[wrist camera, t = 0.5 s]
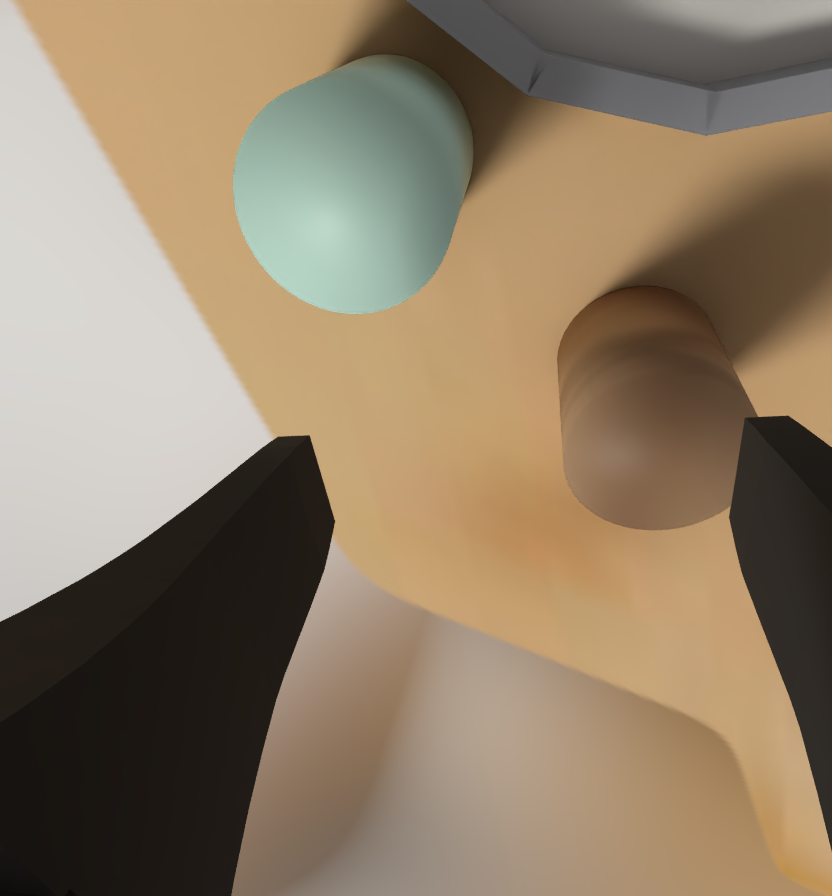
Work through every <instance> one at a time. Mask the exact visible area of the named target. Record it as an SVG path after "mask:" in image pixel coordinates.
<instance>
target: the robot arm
mask: <svg viewBox="0 0 832 896" xmlns="http://www.w3.org/2000/svg"><path fill="white" fill-rule="evenodd" d="M729 519H730V523H731V528H732V533H733V537H734V542H735V547H736V551H737V555H738V559H739V563H740V567H741V571H742V574H743V577H744V580H745V583H746V585H747V588H748V591H749V593H750V596H751V599H752V601H753V604H754V606H755V609H756V612H757V614H758V617H759V620H760V622H761V625H762V627H763V630H764V632H765V635H766V638H767V640H768V643H769V645H770V648H771V650H772V653H773V656H774V658H775V661H776V663H777V666H778V669H779V671H780V674H781V676H782V679H783V681H784V684H785V687H786V689H787V692H788V694H789V697H790V700H791V703H792V706H793V709H794V712H795V715H796V718H797V721H798V724H799V727H800V730H801V733H802V737H803V741H804V745H805V748H806V752H807V756H808V760H809V763H810V767H811V771H812V775H813V778H814V782H815V786H816V790H817V793H818V797H819V801H820V805H821V809H822V813H823V818H824V822H825V826H826V830H827V834H828V838H829V842H830V846H831V850H832V447H830V446H829V445H828V444H826V443H825V442H824V441H822V440H821V439H820V438H818V437H817V436H816V435H814V434H813V433H812V432H810V431H809V430H808V429H806V428H805V427H804V426H802V425H801V424H799V423H798V422H796V421H795V420H794V419H792V418H791V417H789V416H772V417H748V418H745V420H744V426H743V433H742V439H741V445H740V452H739V458H738V464H737V471H736V477H735V483H734V490H733V496H732V502H731V509H730V515H729ZM334 524H335V520H334V516H333V513H332V510H331V506H330V503H329V499H328V496H327V493H326V489H325V486H324V483H323V479H322V476H321V472H320V469H319V466H318V462H317V459H316V456H315V452H314V449H313V445H312V442H311V439H310V435H309V436H285V437H277V438H276V439H274V440H273V441H271V442H270V443H268V444H267V445H266V446H264V447H263V448H262V449H260V450H259V451H258V452H256V453H255V454H254V455H253V456H251V457H250V458H249V459H248V460H246V461H245V462H244V463H243V464H241V465H240V466H239V467H238V468H237V469H235V470H234V471H233V472H231V474H229V475H228V476H227V477H225V478H224V479H223V480H222V481H220V482H219V483H218V484H217V485H215V486H214V487H213V488H212V489H210V490H209V491H208V492H207V493H206V494H204V495H203V496H202V497H200V498H199V499H198V500H197V501H195V502H194V503H193V504H191V505H190V506H189V507H187V508H186V509H185V510H184V511H182V512H181V513H179V514H178V515H176V516H175V517H174V518H173V519H171V520H170V521H168V522H167V523H166V524H164V525H163V526H162V527H160V528H159V529H158V530H156V531H155V532H153V533H152V534H151V535H149V536H148V537H147V538H145V539H144V540H142V541H141V542H139V543H138V544H136V545H135V546H133V547H132V548H130V549H129V550H127V551H126V552H124V553H123V554H121V555H120V556H118V557H117V558H115V559H113V560H112V561H110V562H109V563H107V564H106V565H104V566H102V567H101V568H99V569H98V570H96V571H94V572H93V573H91V574H89V575H87V576H86V577H84V578H82V579H81V580H79V581H78V582H75V583H74V584H71V585H70V586H68V587H66V588H64V589H62V590H60V591H59V592H57V593H55V594H53V595H51V596H49V597H47V598H46V599H44V600H42V601H40V602H38V603H36V604H35V605H33V606H31V607H29V608H27V609H25V610H23V611H21V612H20V613H17V614H15V615H13V616H11V617H9V618H7V619H5V620H3V621H1V622H0V896H231V893H232V888H233V882H234V877H235V872H236V867H237V863H238V858H239V853H240V848H241V843H242V838H243V834H244V828H245V824H246V819H247V815H248V810H249V805H250V801H251V797H252V793H253V789H254V785H255V780H256V776H257V772H258V768H259V763H260V759H261V755H262V751H263V747H264V743H265V739H266V736H267V732H268V728H269V725H270V721H271V717H272V713H273V710H274V706H275V702H276V699H277V696H278V693H279V690H280V687H281V684H282V681H283V678H284V675H285V672H286V670H287V667H288V665H289V662H290V659H291V657H292V654H293V651H294V649H295V646H296V644H297V641H298V638H299V636H300V633H301V631H302V628H303V625H304V623H305V620H306V617H307V615H308V612H309V610H310V607H311V604H312V602H313V599H314V596H315V593H316V591H317V588H318V586H319V583H320V580H321V577H322V574H323V572H324V569H325V565H326V560H327V556H328V552H329V548H330V543H331V538H332V534H333V529H334Z"/></svg>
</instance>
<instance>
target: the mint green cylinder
mask: <svg viewBox="0 0 832 896" xmlns="http://www.w3.org/2000/svg"><path fill="white" fill-rule="evenodd" d="M473 160H474V145H473V135H472V131H471V126H470V122H469V119H468V117H467V114H466V111H465V109H464V107H463V105H462V103H461V101H460V99H459V98H458V96H457V95H456V93H455V92H454V90H453V89H452V88H451V87H450V85H449V84H448V83H447V82H446V81H445V80H444V79H443V78H442V77H441V76H440V75H438V74H437V73H436V72H435V71H434V70H432V69H430V68H429V67H427V66H426V65H424V64H422V63H420V62H418V61H416V60H414V59H410V58H407V57H404V56H399V55H392V54H377V55H371V56H366V57H363V58H360V59H357V60H354V61H352V62H350V63H348V64H345V65H343V66H341V67H339V68H337V69H334V70H332V71H330V72H328V73H326V74H323V75H321V76H319V77H317V78H315V79H312V80H310V81H308V82H306V83H304V84H302V85H299V86H297V87H295V88H293V89H291V90H289V91H287V92H285V93H283V94H281V95H280V96H278V97H277V98H275V99H274V100H273V101H271V102H270V103H269V104H268V105H267V106H266V107H265V108H264V109H263V110H262V111H261V112H260V113H259V114H258V115H257V116H256V117H255V119H254V120H253V122H252V123H251V124H250V126H249V127H248V129H247V131H246V133H245V135H244V137H243V139H242V141H241V144H240V147H239V150H238V153H237V157H236V162H235V167H234V177H233V193H234V203H235V208H236V214H237V217H238V221H239V224H240V227H241V230H242V232H243V235H244V237H245V239H246V242H247V244H248V245H249V247H250V249H251V251H252V253H253V254H254V256H255V257H256V259H257V260H258V261H259V263H260V264H261V266H262V267H263V268H264V269H265V270H266V271H267V273H268V274H269V275H270V276H271V277H272V278H273V279H274V280H275V281H276V282H277V283H279V284H280V285H281V286H282V287H283V288H284V289H286V290H287V291H289V292H290V293H291V294H293V295H294V296H296V297H298V298H300V299H301V300H303V301H305V302H307V303H309V304H312V305H314V306H316V307H319V308H322V309H325V310H329V311H333V312H339V313H346V314H364V313H372V312H377V311H382V310H385V309H388V308H391V307H393V306H396V305H398V304H400V303H402V302H403V301H405V300H407V299H408V298H410V297H411V296H413V295H414V294H416V293H417V292H418V291H419V290H420V289H421V288H422V287H423V286H424V285H425V284H427V282H428V281H429V280H430V279H431V277H432V276H433V275H434V274H435V272H436V271H437V269H438V267H439V266H440V264H441V262H442V260H443V258H444V256H445V253H446V251H447V249H448V246H449V243H450V240H451V237H452V234H453V230H454V227H455V224H456V221H457V218H458V215H459V212H460V209H461V206H462V202H463V199H464V196H465V193H466V190H467V187H468V184H469V180H470V177H471V173H472V167H473Z"/></svg>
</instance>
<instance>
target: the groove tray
mask: <svg viewBox="0 0 832 896" xmlns="http://www.w3.org/2000/svg"><path fill="white" fill-rule="evenodd" d="M406 1H407V2H409V3H410V4H411V5H412V6H414V7H415V8H416V9H417V10H419V11H420V12H421V13H423V14H424V15H425V16H426V17H428V18H429V19H430V20H431V21H433V22H434V23H435V24H437V25H438V26H439V27H440V28H442V29H443V30H444V31H445V32H447V33H448V34H449V35H451V36H452V37H453V38H454V39H456V40H457V41H458V42H459V43H461V44H462V45H463V46H465V47H466V48H467V49H468V50H470V51H471V52H472V53H473V54H475V55H476V56H477V57H479V58H480V59H481V60H482V61H484V62H485V63H486V64H487V65H489V66H490V67H491V68H493V69H494V70H495V71H496V72H498V73H499V74H500V75H501V76H503V77H504V78H505V79H507V80H508V81H509V82H510V83H512V84H513V85H514V86H515V87H517V88H518V89H519V90H521V91H522V92H523V93H524V94H526V95H527V96H532V97H536V98H540V99H545V100H549V101H554V102H558V103H563V104H567V105H572V106H576V107H581V108H585V109H590V110H594V111H599V112H603V113H607V114H612V115H616V116H621V117H625V118H630V119H634V120H639V121H643V122H648V123H652V124H657V125H661V126H665V127H670V128H674V129H679V130H683V131H688V132H692V133H697V134H701V135H712V134H717V133H722V132H727V131H732V130H738V129H743V128H748V127H753V126H758V125H764V124H769V123H774V122H779V121H784V120H790V119H795V118H800V117H805V116H810V115H816V114H821V113H826V112H831V111H832V0H406Z"/></svg>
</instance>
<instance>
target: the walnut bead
mask: <svg viewBox="0 0 832 896" xmlns="http://www.w3.org/2000/svg"><path fill="white" fill-rule="evenodd" d="M557 361H558V381H559V398H560V416H561V433H562V450H563V468H564V473H565V477H566V480H567V483H568V485H569V487H570V489H571V491H572V492H573V494H574V495H575V497H576V498H577V499H578V500H579V502H580V503H581V504H583V505H584V506H585V507H586V508H587V509H588V510H590V511H591V512H592V513H594V514H595V515H597V516H599V517H600V518H602V519H604V520H606V521H609V522H611V523H614V524H617V525H620V526H624V527H628V528H634V529H641V530H667V529H675V528H680V527H685V526H689V525H692V524H696V523H699V522H701V521H704V520H706V519H709V518H711V517H713V516H715V515H717V514H719V513H720V512H722V511H724V510H725V509H727V508H728V507H730V506H731V502H732V496H733V490H734V483H735V477H736V471H737V464H738V458H739V452H740V445H741V439H742V433H743V426H744V420H745V418H748V417H758V416H757V414H756V412H755V410H754V408H753V406H752V404H751V402H750V400H749V398H748V396H747V394H746V392H745V390H744V388H743V386H742V384H741V382H740V380H739V378H738V376H737V374H736V372H735V370H734V368H733V366H732V364H731V362H730V360H729V358H728V356H727V354H726V352H725V351H724V349H723V347H722V345H721V343H720V341H719V339H718V337H717V335H716V333H715V331H714V329H713V327H712V325H711V323H710V321H709V319H708V318H707V316H706V314H705V313H704V312H703V311H702V309H701V308H700V307H699V306H698V305H697V304H696V303H694V302H693V301H692V300H691V299H689V298H687V297H686V296H684V295H682V294H680V293H678V292H676V291H673V290H670V289H666V288H661V287H655V286H636V287H629V288H624V289H620V290H617V291H614V292H611V293H608V294H606V295H604V296H602V297H600V298H598V299H597V300H595V301H593V302H592V303H590V304H589V305H588V306H586V307H585V308H584V309H583V310H582V311H581V312H580V313H579V314H578V315H577V316H576V317H575V318H574V319H573V320H572V322H571V323H570V324H569V326H568V328H567V329H566V331H565V333H564V335H563V337H562V340H561V342H560V346H559V350H558V358H557Z"/></svg>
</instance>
